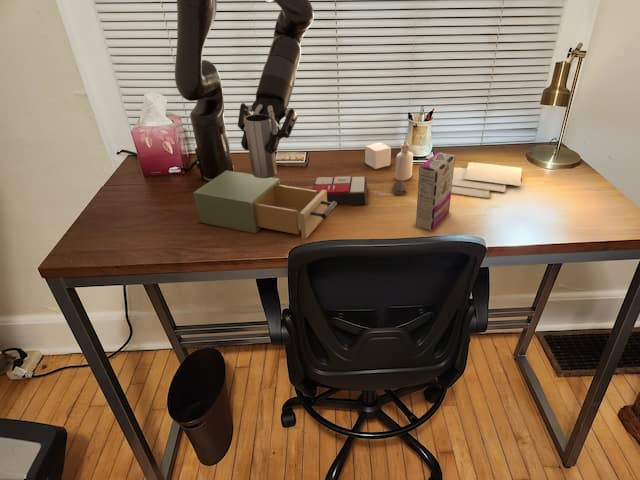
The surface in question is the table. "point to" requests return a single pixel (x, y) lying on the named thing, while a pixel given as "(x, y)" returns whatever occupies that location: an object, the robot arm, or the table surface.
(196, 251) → the table surface
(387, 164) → the cream white cube
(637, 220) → the table surface
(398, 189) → the block
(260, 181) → the cabinet
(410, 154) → the eye dropper bottle
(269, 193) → the drawer
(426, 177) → the candy bar box
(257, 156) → the metal cup
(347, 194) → the red and black box
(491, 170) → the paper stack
